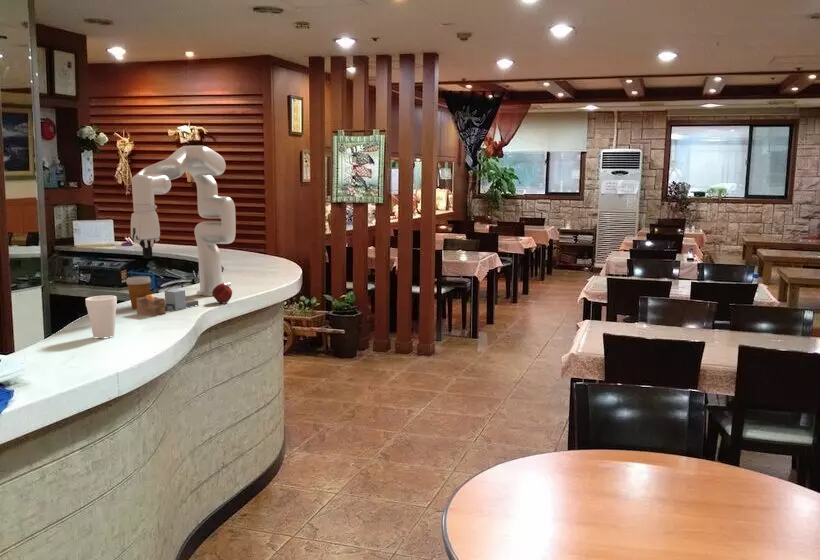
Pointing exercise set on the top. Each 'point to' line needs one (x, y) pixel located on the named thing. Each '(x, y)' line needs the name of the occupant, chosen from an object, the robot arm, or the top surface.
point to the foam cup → (102, 315)
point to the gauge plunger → (149, 297)
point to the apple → (222, 293)
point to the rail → (188, 303)
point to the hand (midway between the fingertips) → (147, 257)
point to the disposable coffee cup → (138, 288)
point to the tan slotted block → (150, 306)
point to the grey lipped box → (175, 298)
